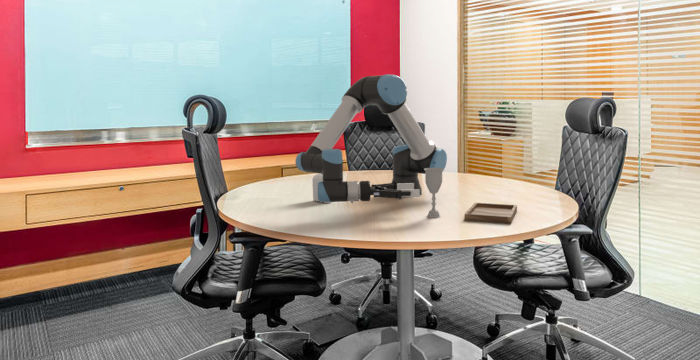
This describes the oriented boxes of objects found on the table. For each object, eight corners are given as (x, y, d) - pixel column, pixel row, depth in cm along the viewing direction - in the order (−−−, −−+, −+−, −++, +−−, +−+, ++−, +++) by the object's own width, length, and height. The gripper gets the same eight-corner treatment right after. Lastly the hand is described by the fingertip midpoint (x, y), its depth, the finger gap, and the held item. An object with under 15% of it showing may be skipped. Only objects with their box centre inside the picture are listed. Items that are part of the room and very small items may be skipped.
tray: (474, 208, 202) (475, 202, 202) (516, 211, 196) (517, 205, 195) (464, 220, 182) (464, 214, 182) (510, 223, 176) (510, 217, 175)
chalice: (427, 219, 186) (427, 170, 183) (421, 215, 192) (421, 168, 189) (446, 217, 187) (446, 169, 184) (439, 214, 194) (439, 167, 191)
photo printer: (311, 201, 225) (310, 173, 223) (319, 199, 228) (318, 172, 226) (325, 204, 217) (324, 175, 215) (333, 202, 220) (332, 174, 218)
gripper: (358, 195, 200) (411, 193, 200) (361, 207, 175) (422, 206, 176) (357, 176, 199) (411, 175, 199) (360, 186, 174) (422, 185, 175)
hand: (416, 189), depth 187 cm, fingers open, 13 cm apart
